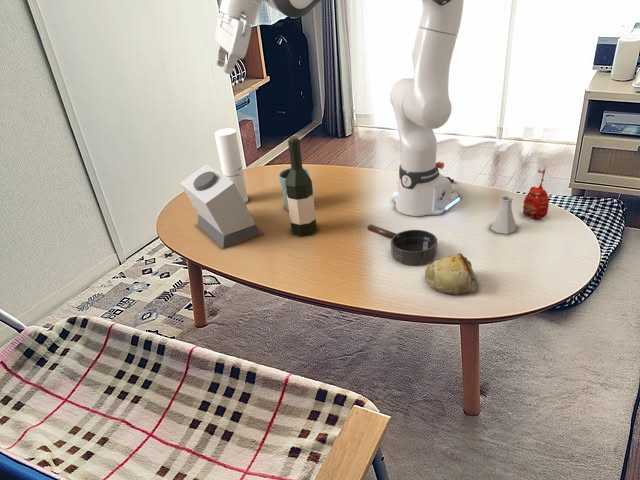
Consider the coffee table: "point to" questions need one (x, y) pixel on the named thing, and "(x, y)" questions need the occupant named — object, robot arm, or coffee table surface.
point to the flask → (505, 217)
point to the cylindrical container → (231, 159)
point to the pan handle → (382, 231)
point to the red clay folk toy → (536, 201)
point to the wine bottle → (299, 193)
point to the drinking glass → (283, 177)
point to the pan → (414, 247)
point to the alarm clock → (219, 207)
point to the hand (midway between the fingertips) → (223, 69)
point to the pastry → (451, 275)
